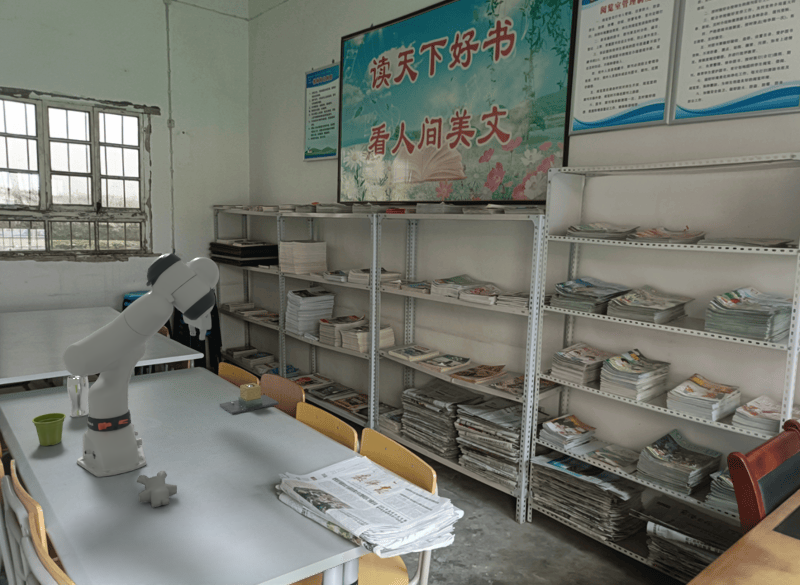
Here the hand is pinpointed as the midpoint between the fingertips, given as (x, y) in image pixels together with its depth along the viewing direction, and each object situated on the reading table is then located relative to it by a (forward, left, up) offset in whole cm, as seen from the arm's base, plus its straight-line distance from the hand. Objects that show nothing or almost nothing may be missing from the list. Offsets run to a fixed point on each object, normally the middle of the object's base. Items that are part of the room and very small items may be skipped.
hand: (197, 337), depth 217 cm
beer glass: (+21, +38, -29) cm, 52 cm away
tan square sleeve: (-8, -18, -26) cm, 32 cm away
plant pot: (-3, +51, -29) cm, 59 cm away
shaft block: (-8, -18, -29) cm, 35 cm away
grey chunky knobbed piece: (-62, +35, -30) cm, 77 cm away
